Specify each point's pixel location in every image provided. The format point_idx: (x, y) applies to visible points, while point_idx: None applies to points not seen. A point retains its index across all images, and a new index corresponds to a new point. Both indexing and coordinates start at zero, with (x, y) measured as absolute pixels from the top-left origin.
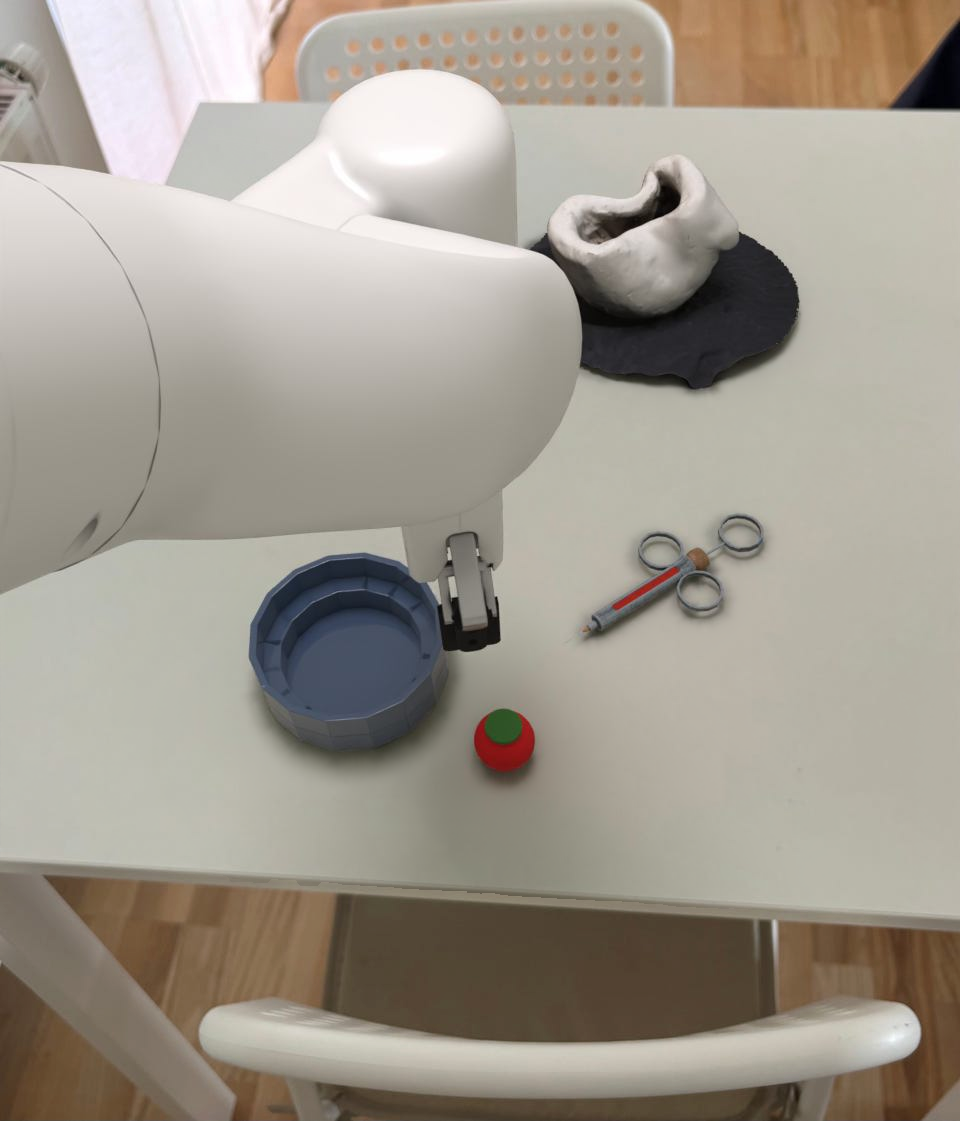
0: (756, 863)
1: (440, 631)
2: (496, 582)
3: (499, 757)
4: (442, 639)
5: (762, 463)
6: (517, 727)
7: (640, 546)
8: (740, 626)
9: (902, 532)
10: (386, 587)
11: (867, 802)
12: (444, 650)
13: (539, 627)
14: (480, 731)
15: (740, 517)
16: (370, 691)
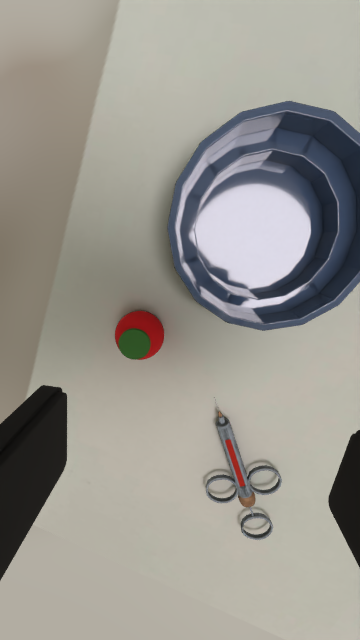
0: None
1: (35, 410)
2: (291, 365)
3: (117, 329)
4: (19, 407)
5: (307, 552)
6: (128, 354)
7: (273, 471)
8: (191, 493)
9: (221, 588)
10: (320, 281)
11: (62, 503)
12: (44, 385)
13: (238, 382)
14: (141, 322)
15: (268, 530)
16: (227, 239)
